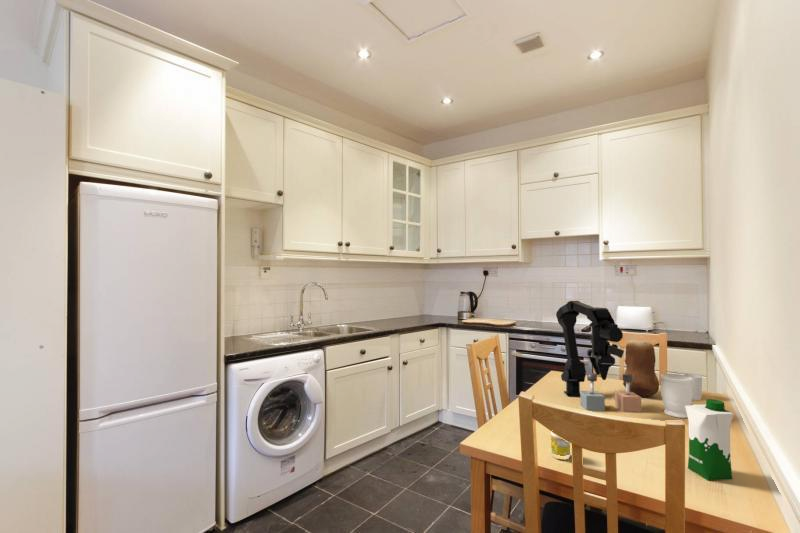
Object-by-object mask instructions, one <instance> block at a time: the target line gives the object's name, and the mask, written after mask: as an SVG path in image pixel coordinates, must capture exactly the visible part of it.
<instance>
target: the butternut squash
mask: <svg viewBox="0 0 800 533" xmlns="http://www.w3.org/2000/svg"><path fill="white" fill-rule="evenodd" d="M655 351H656V350H655V347H654V345H653V344H652V343H651V342H649V341H645V340H638V339H637V340H636V339H632V340H631V339H630V340H629V341H627V342H626V345H625V358H624V359H625V360H624V364H625V365H626V369H625V371H624V374H630V375H633V382H629V392H634V393H635V394H637V395H638V396H640V397H641V398H649V397H651V396H654V395H656V394H657V393H658V391H659V389H660V382H659V379H658V376H657V374H656V371H655V367H656V360H657V359H656V352H655ZM622 385H623V386H624V388H626V382H625V381H622Z"/></svg>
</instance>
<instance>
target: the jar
mask: <svg viewBox="0 0 800 533" xmlns="http://www.w3.org/2000/svg"><path fill="white" fill-rule="evenodd" d="M660 378H661V382H660V395H661V400H662V404H663V407H664V410H663V413H664V414H665V415H667V416H669V417H673V418H680V419H688V416H687V412H686V407H685V406H688V405H692V402H693V400H692V398H693V391H692V385H691V382H692V378H691V377H688V376H685V375H684V374H679V373H668V372H667V373H666V372H665V373H661V374H660Z"/></svg>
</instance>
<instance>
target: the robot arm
mask: <svg viewBox="0 0 800 533" xmlns="http://www.w3.org/2000/svg"><path fill="white" fill-rule="evenodd" d="M555 314H556V318H557V322H558V324H559V326H560V327H561V329H562V333H563V338H564V346H565V353H566V362H565V364H564V370H563V372H562V374H561V375H560V377H561V381H563V382H564V383H565V388H566V389H565V390H564V391H563V393H564V394H565V395H566V396H567V397H580V398H581V392H580V391H581V386H580V383H584V382H585V380H586V376H587V370H586V364H585V363H584V361H581V359H580V357H579V350H578V344H577V338H576V333H575V332H576V331H575V326H576V323H577V321H578V320H577V317H578V316H579V315H580V314H581V315H584V316H586V318H587V320H588V321H590V322H591V323H590V324H588V327H590V328H591V340H590V343H591V344H592V348H589V349H588V350H587V351H586V354H587V358H588V359H589V362H590V363H591V366H592V367H593V370H594V372H595V374H597V376H599V375H600V377H601V380H603V381H606V380H607V377H608V372H609V370H610V368H611V367H612V366H614V365H615V364H616V358H615V357H614V356H616V357H618V358H619V359H622V358H623V355H624V352H625V350H624V349H621V348H619V345H617V344H614V343H619V342H620V341H621V340H622V339H623V336H624V333H623V331H622V329H620V328H619V327H618V323H615V320H614V318H613V316H612V315H611V312H610V311H609V309H608V308H606V307H598V306H597V307H594V306H592V305H589V304H586V303H584V302H581V301H579V300H569V301H567V302H566V304H564V305H562V306H561V307H559V308H558V310H557V311H556V313H555ZM610 342H612V344H611V343H610ZM613 342H614V343H613ZM612 355H613V356H612Z"/></svg>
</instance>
